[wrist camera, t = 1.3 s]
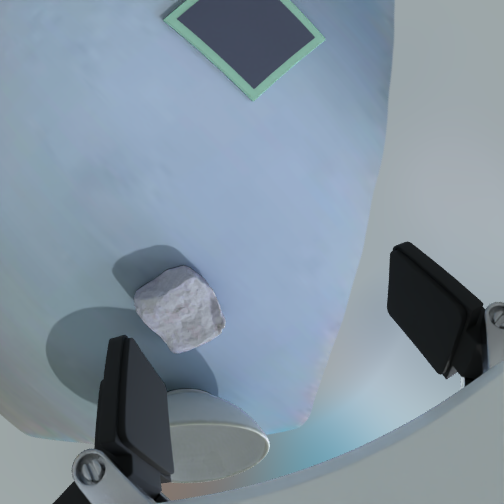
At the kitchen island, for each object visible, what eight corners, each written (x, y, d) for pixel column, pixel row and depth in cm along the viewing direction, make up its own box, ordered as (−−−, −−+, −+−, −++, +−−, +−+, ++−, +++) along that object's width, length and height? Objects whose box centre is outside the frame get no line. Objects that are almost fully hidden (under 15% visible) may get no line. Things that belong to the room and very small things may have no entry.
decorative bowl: (112, 427, 54) (111, 475, 43) (128, 348, 44) (124, 412, 34) (226, 440, 64) (236, 483, 53) (277, 372, 54) (298, 424, 44)
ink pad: (163, 21, 25) (163, 19, 24) (243, -39, 23) (244, -41, 22) (252, 101, 32) (253, 101, 31) (323, 40, 30) (326, 39, 29)
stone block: (187, 251, 41) (126, 292, 39) (197, 266, 37) (130, 312, 35) (226, 308, 47) (173, 343, 46) (239, 326, 43) (181, 364, 42)
